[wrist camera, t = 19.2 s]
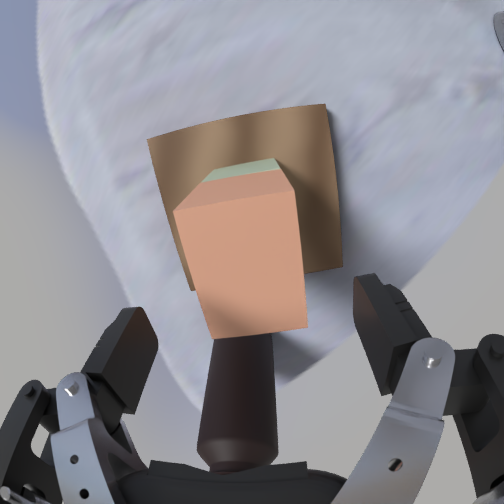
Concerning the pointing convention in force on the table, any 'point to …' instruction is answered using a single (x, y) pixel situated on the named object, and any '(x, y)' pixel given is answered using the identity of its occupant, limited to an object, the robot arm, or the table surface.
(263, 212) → the brick
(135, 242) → the table surface
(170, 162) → the base board
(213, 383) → the bottle
